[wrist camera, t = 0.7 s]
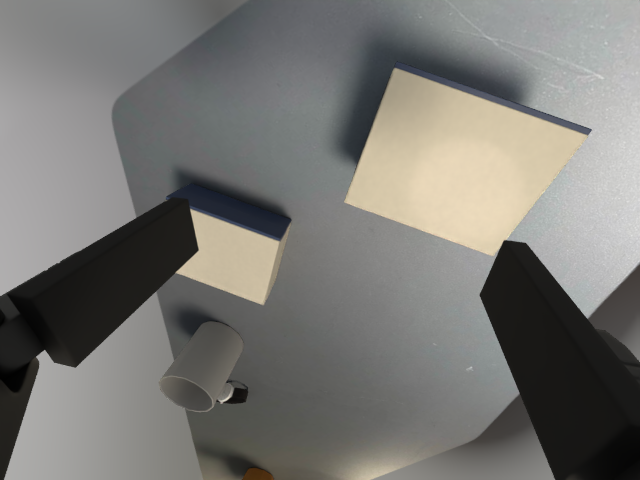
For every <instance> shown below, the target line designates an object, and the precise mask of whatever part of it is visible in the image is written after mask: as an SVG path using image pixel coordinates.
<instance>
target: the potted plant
mask: <svg viewBox="0 0 640 480" xmlns="http://www.w3.org/2000/svg"><path fill="white" fill-rule="evenodd" d="M242 480H274V479H273V477H272V475H271V474H269V473H268V472H266V471H264V470H261V469H257V468H250V469H248V470H247V472H246V474H245V475H244V477H243V479H242Z"/></svg>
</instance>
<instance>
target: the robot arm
mask: <svg viewBox="0 0 640 480" xmlns="http://www.w3.org/2000/svg"><path fill="white" fill-rule="evenodd" d="M198 251H199V248H198V244H197V239H196V234H195V229H194V225H193V220H192V215H191V210H190V206H189V201H188V199H185V198H177V197H172V198H170V199H168V200H167V201H165V202H163V203H161V204H160V205H158V206H156V207H155V208H153V209H151V210H149V211H148V212H146V213H144V214H143V215H141V216H139V217H137V218H136V219H134V220H132V221H131V222H129V223H127V224H126V225H124V226H122V227H120V228H119V229H117V230H115V231H113V232H112V233H110V234H108V235H107V236H105V237H103V238H102V239H100V240H98V241H96V242H95V243H93V244H91V245H90V246H88V247H86V248H85V249H83V250H81V251H79V252H76V253H74V254H73V255H71V256H69V257H67V258H66V259H64V260H62V261H61V262H60V263H57V264H55V265H53V266H52V267H50V268H48V270H47V271H43V272H41V273H40V274H38V275H36V276H35V277H33V278H31V279H30V280H28V281H26V282H24V283H23V284H21V285H19V286H17V287H16V288H14V289H12V290H10V291H9V292H7V293H5V294H3V295H2V296H0V480H4V477H5V474H6V471H7V468H8V465H9V461H10V458H11V455H12V452H13V449H14V446H15V442H16V439H17V436H18V433H19V430H20V426H21V423H22V420H23V417H24V414H25V411H26V407H27V404H28V401H29V398H30V395H31V391H32V388H33V385H34V382H35V379H36V375H37V372H38V369H39V361H38V359H37V358H36V356H37V355H39V354H40V353H41V352H42V351H44V350H46V352H47V353H48V354H49V356H50V357H51V359H52V360H53V361H54V363H58V364H63V365H67V366H71V367H77V366H78V365H79V364H80V363H81V362H82V361H83V360H84V359H85V358H86V357H87V356H88V355H89V354H90V353H91V352H92V351H93V350H95V348H97V347H98V346H99V345H100V344H101V343H102V342H103V341H104V340H105V339H106V338H107V337H108V336H109V335H110V334H111V333H112V332H114V331H115V330H116V329H117V328H118V327H119V326H120V325H121V324H122V323H123V322H124V321H125V320H126V319H127V318H128V317H129V316H130V315H131V314H132V313H134V312H135V311H136V310H137V309H138V308H139V307H140V306H141V305H142V304H143V303H144V302H145V301H146V300H147V299H148V298H149V297H150V296H152V294H154V293H155V292H156V291H157V290H158V289H159V288H160V287H161V286H162V285H163V284H164V283H165V282H166V281H167V280H168V279H169V278H170V277H172V276H173V275H174V274H175V273H176V272H177V271H178V270H179V269H180V268H181V267H182V266H183V265H184V264H185V263H186V262H187V261H188V260H189V259H191V258H192V257H193V256H194V255H195V254H196V253H197V252H198ZM480 297H481V300H482V302H483V305H484V307H485V310H486V312H487V314H488V317H489V319H490V322H491V324H492V327H493V329H494V331H495V334H496V336H497V339H498V341H499V344H500V346H501V349H502V351H503V353H504V356H505V358H506V361H507V363H508V366H509V368H510V370H511V373H512V375H513V378H514V380H515V383H516V385H517V388H518V390H519V392H520V395H521V397H522V400H523V402H524V405H525V407H526V409H527V412H528V414H529V417H530V419H531V422H532V424H533V426H534V429H535V431H536V434H537V436H538V439H539V441H540V444H541V446H542V448H543V451H544V453H545V456H546V458H547V460H548V463H549V466H550V468H551V470H552V473H553V475H554V478H555V480H640V362H639V361H638V360H637V359H636V357H635V356H634V355H633V354H632V353H631V352H630V350H628V348H627V347H626V346H625V345H623V344H622V343H621V342H619V341H618V340H617V339H616V338H614V337H613V336H612V335H610V334H609V333H608V332H606V331H605V330H599V329H595V328H594V327H593V326H592V324H591V323H590V322H589V321H588V319H587V318H586V317H585V316H584V314H583V313H582V312H581V311H580V309H579V308H578V307H577V306H576V304H575V303H574V302H573V301H572V300H571V298H570V297H569V296H568V295H567V293H566V292H565V291H564V290H563V288H562V287H561V286H560V285H559V283H558V282H557V281H556V280H555V278H554V277H553V276H552V275H551V273H550V272H549V271H548V270H547V268H546V267H545V266H544V265H543V263H542V262H541V261H540V260H539V259H538V257H537V256H536V255H535V254H534V252H533V251H532V250H531V249H530V247H529V246H528V245H527V244H526V243H522V242H515V241H507V240H504V241H503V243H502V246H501V248H500V250H499V252H498V255H497V257H496V259H495V261H494V264H493V266H492V268H491V271H490V273H489V275H488V277H487V280H486V282H485V284H484V286H483V289H482V291H481V293H480Z"/></svg>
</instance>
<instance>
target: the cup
mask: <svg viewBox="0 0 640 480" xmlns="http://www.w3.org/2000/svg"><path fill="white" fill-rule="evenodd" d="M242 350H243V341H242V339H241V337H240V335H239V334H238V333H237V332H236V331H235V330H233V329H232V328H231V327H229V326H227V325H225V324H223V323H220V322H213V321H209V322H205V323H202V324H201V326H200V327H199V328H198V330H197V331H196V332H195V334H194V335H193V336H192V338H191V339H190V340H189V342H188V343H187V345H186V346H185V347H184V349H183V350H182V351H181V353H180V354H179V355H178V357H177V358H176V359H175V361H174V362H173V364H172V365H171V366H170V368H169V369H168V370H167V372H166V373H165V374H164V376H163V377H162V379H161V380H160V381H159V387H160V390H161V391H162V392H163V394H164V395H165V396H166V397H167V398H168V399H169V400H171V401H172V402H173V403H175V404H176V405H178V406H181V407H183V408H185V409H187V410H191V411H196V412H205V411H209V410H210V409H211V408H212V407H213V406H214V404H215V402H216V400H217V398H218V396H219V395H220V393H221V391H222V389H223V387H224V385H225V383H226V381H227V379H228V377H229V375H230V373H231V372H232V370H233V368H234V366H235V364H236V362H237V360H238V358H239V356H240V354H241V352H242Z"/></svg>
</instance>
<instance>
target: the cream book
mask: <svg viewBox="0 0 640 480" xmlns="http://www.w3.org/2000/svg"><path fill="white" fill-rule="evenodd" d="M591 131H592V129H589V128H586V127H584V126H581V125H578V124H575V123H572V122H569V121H566V120H564V119H561V118H558V117H555V116H552V115H549V114H546V113H544V112H541V111H538V110H535V109H532V108H529V107H526V106H524V105H521V104H518V103H515V102H512V101H509V100H506V99H504V98H501V97H498V96H495V95H492V94H489V93H486V92H484V91H481V90H478V89H475V88H472V87H469V86H466V85H464V84H461V83H458V82H455V81H452V80H449V79H446V78H444V77H441V76H438V75H435V74H432V73H429V72H426V71H424V70H421V69H418V68H415V67H412V66H409V65H406V64H404V63H401V62H398V61H397V62H396V63H395V66H394V69H393V71H392V74H391V77H390V79H389V82H388V85H387V87H386V90H385V93H384V95H383V98H382V101H381V103H380V106H379V109H378V111H377V114H376V117H375V119H374V122H373V125H372V127H371V130H370V133H369V136H368V138H367V141H366V144H365V146H364V149H363V152H362V154H361V157H360V160H359V162H358V165H357V168H356V170H355V173H354V176H353V178H352V181H351V184H350V186H349V189H348V192H347V195H346V198H345V201H344V202H345V203H347V204H350V205H353V206H355V207H358V208H361V209H364V210H366V211H369V212H372V213H375V214H378V215H380V216H383V217H386V218H389V219H391V220H394V221H397V222H400V223H402V224H405V225H408V226H411V227H413V228H416V229H419V230H422V231H424V232H427V233H430V234H433V235H436V236H438V237H441V238H444V239H447V240H449V241H452V242H455V243H458V244H460V245H463V246H466V247H469V248H471V249H474V250H477V251H480V252H482V253H485V254H488V255H491V256H494V254H495V253H496V252H497V251H498V249H499V248H500V247H501V245H502V243H503V241H504V240H506V239H507V238H508V237H509V235H510V234H511V233H512V232H513V230H514V229H515V228H516V227H517V225H518V224H519V223H520V222H521V220H522V219H523V218H524V216H525V215H526V214H527V213H528V211H529V210H530V209H531V208H532V206H533V205H534V204H535V203H536V201H537V200H538V199H539V198H540V196H541V195H542V194H543V193H544V191H545V190H546V189H547V187H548V186H549V185H550V184H551V182H552V181H553V180H554V179H555V177H556V176H557V175H558V174H559V172H560V171H561V170H562V169H563V167H564V166H565V165H566V164H567V162H568V161H569V160H570V158H571V157H572V156H573V155H574V153H575V152H576V151H577V150H578V148H579V147H580V146H581V145H582V143H583V142H584V141H585V140H586V138H587V137H588V134H589V133H590V132H591Z"/></svg>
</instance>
